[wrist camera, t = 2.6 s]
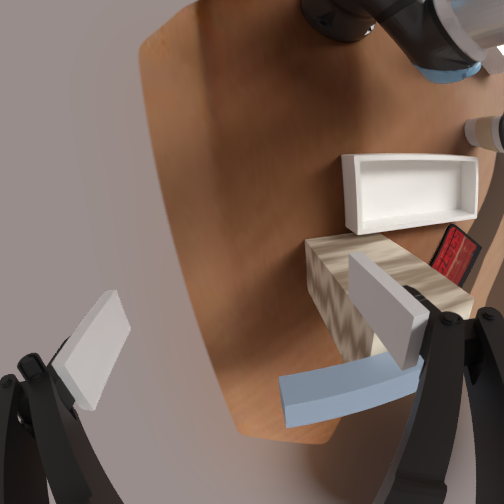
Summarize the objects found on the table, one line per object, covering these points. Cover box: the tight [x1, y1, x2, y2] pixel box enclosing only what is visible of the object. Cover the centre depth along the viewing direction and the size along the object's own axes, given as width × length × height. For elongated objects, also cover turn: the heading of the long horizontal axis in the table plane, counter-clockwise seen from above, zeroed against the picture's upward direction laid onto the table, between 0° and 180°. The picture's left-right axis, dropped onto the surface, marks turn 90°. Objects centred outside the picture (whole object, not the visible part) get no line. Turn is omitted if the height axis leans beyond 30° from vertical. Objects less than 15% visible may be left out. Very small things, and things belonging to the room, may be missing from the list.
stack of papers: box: [481, 45, 504, 75], centre depth 30 cm, size 32×11×11 cm, turn 157°
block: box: [279, 352, 424, 428], centre depth 25 cm, size 4×26×4 cm, turn 97°
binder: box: [430, 224, 482, 288], centre depth 58 cm, size 16×2×21 cm
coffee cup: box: [464, 115, 504, 153], centre depth 40 cm, size 9×9×15 cm
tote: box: [341, 153, 478, 235], centre depth 48 cm, size 14×33×6 cm, turn 97°
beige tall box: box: [305, 232, 474, 363], centre depth 41 cm, size 11×15×30 cm
